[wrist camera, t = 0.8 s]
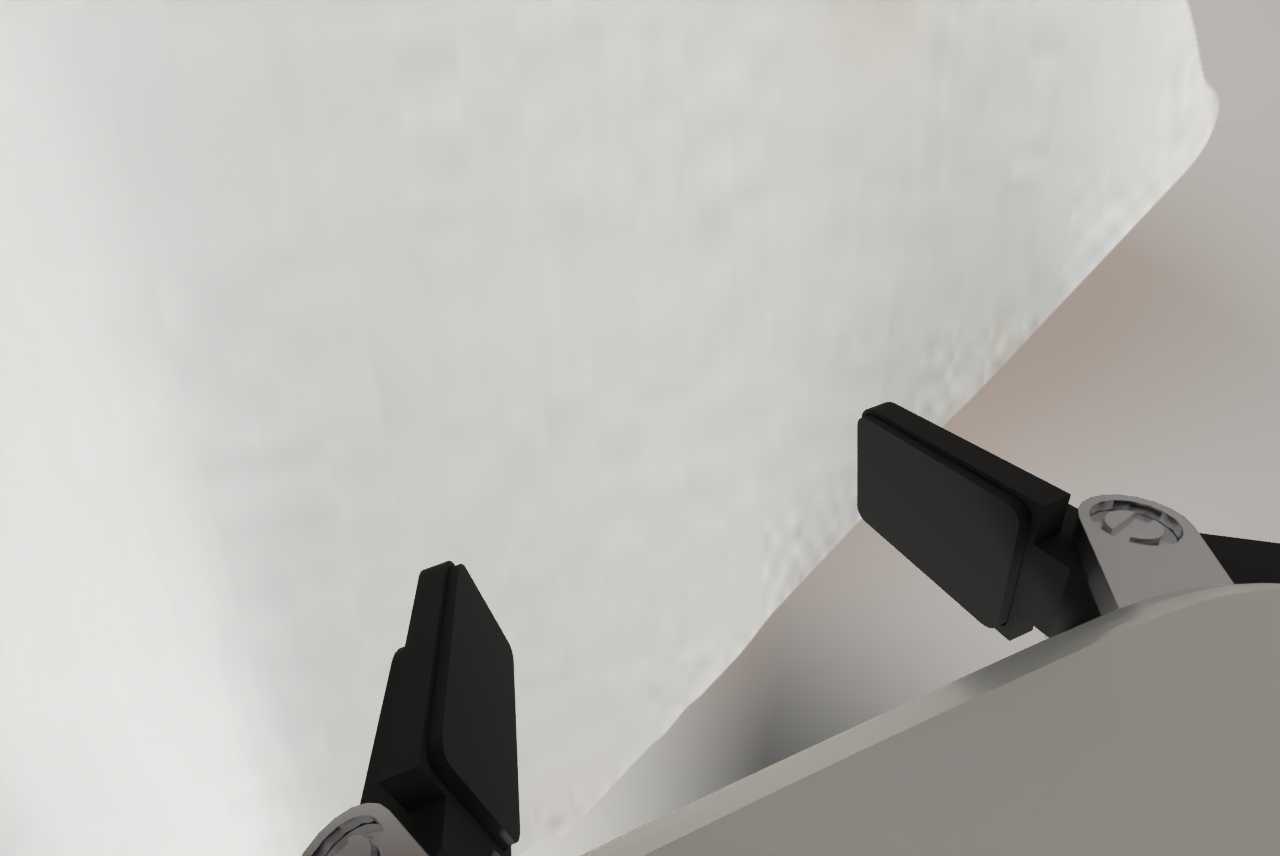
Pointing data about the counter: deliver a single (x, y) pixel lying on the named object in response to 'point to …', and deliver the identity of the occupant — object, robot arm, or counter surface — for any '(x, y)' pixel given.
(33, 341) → the counter surface
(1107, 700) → the robot arm
